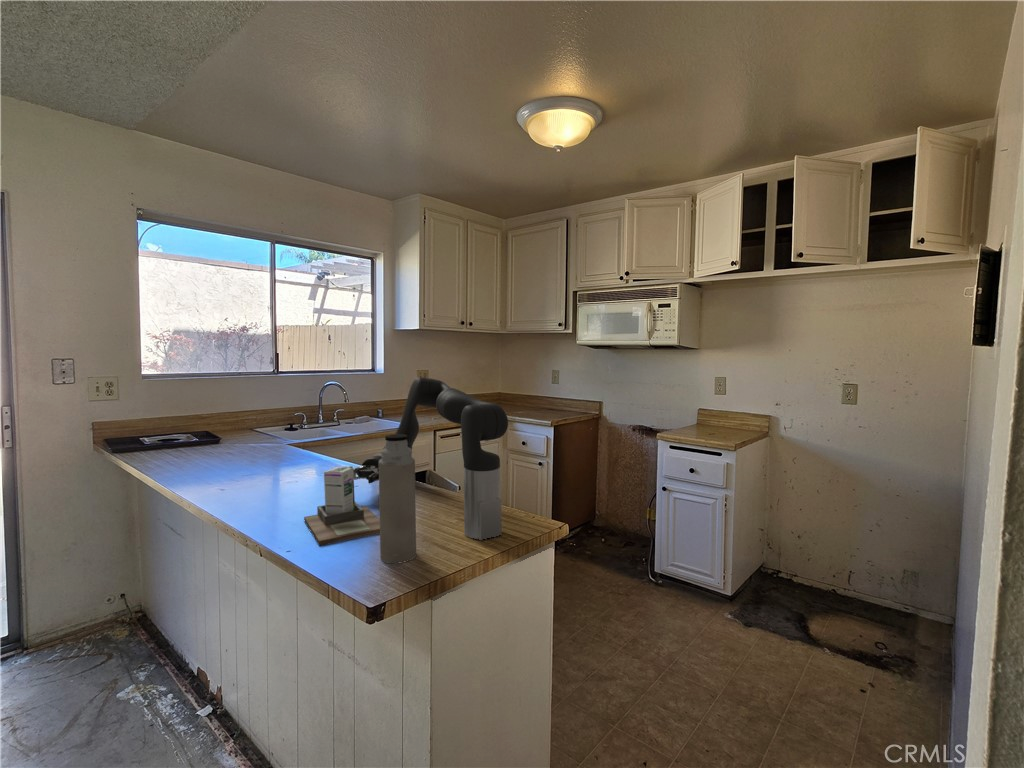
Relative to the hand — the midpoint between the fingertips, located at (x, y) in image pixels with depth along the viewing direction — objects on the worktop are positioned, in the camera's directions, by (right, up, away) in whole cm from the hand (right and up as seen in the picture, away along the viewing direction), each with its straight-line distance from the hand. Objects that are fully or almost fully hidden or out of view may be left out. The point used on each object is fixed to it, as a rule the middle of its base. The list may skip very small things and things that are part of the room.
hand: (355, 479), depth 144 cm
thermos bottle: (+20, -11, -32) cm, 39 cm away
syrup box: (-1, -10, -9) cm, 13 cm away
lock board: (+1, -10, -13) cm, 17 cm away
